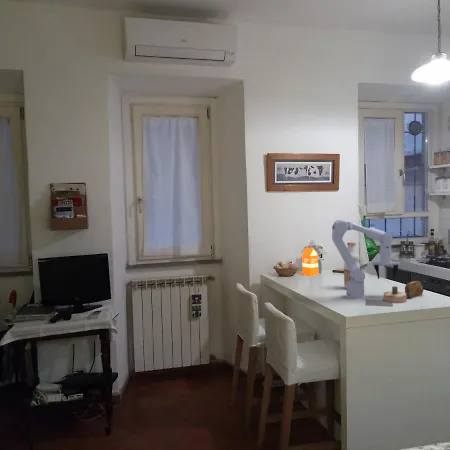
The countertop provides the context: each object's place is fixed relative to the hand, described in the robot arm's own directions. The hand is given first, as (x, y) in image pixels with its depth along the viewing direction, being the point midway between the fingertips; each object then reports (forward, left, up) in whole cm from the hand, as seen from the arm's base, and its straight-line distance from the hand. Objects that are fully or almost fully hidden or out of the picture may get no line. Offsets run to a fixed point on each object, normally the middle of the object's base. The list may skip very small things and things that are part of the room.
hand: (386, 278), depth 222 cm
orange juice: (-51, +63, -10) cm, 82 cm away
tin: (+14, +2, -10) cm, 17 cm away
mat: (-4, -17, -10) cm, 20 cm away
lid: (+4, -9, -7) cm, 12 cm away
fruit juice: (-19, +19, -10) cm, 29 cm away
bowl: (+4, -9, -10) cm, 14 cm away
